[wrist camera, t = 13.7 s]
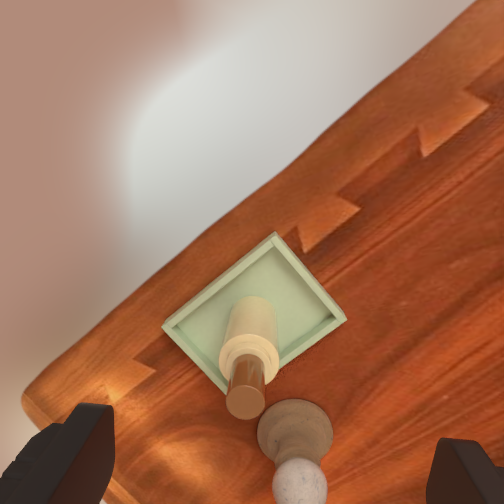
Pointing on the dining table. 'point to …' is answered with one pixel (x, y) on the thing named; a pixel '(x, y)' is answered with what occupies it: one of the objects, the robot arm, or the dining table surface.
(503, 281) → the dining table surface
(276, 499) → the candle holder
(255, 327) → the stoneware bottle
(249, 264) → the tray
